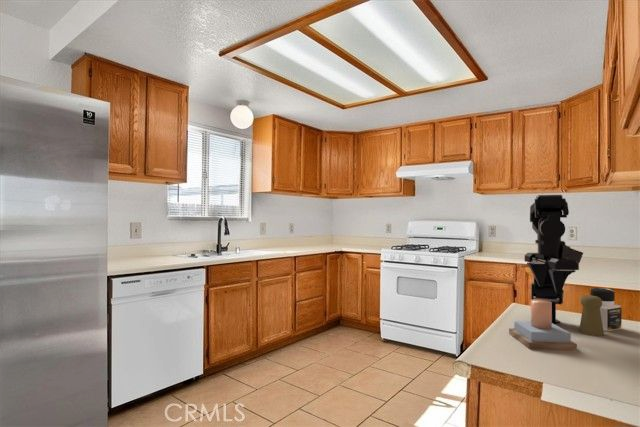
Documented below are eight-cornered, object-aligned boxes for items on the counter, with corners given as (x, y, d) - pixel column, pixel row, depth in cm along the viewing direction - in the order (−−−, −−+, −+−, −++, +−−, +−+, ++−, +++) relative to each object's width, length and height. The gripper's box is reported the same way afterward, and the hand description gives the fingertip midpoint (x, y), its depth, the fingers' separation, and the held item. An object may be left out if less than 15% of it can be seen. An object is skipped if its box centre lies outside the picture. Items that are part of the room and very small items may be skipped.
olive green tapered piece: (608, 336, 107) (608, 298, 107) (585, 335, 108) (585, 297, 108) (597, 330, 113) (597, 294, 113) (575, 329, 114) (575, 293, 114)
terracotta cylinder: (527, 323, 106) (527, 299, 106) (545, 323, 106) (544, 299, 106) (537, 329, 101) (537, 303, 101) (556, 329, 101) (555, 303, 101)
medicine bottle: (608, 331, 111) (608, 292, 111) (583, 325, 118) (583, 287, 118) (622, 328, 114) (622, 290, 114) (596, 322, 121) (597, 285, 121)
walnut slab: (509, 336, 109) (509, 328, 109) (551, 338, 109) (551, 329, 109) (529, 352, 98) (529, 342, 98) (576, 353, 97) (576, 343, 97)
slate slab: (514, 329, 108) (514, 321, 108) (549, 330, 108) (549, 322, 108) (531, 341, 98) (531, 332, 98) (570, 342, 98) (570, 333, 98)
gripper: (599, 239, 100) (599, 297, 100) (559, 235, 118) (559, 284, 118) (556, 239, 101) (556, 296, 101) (523, 235, 119) (523, 283, 119)
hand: (549, 289), depth 110 cm, fingers open, 9 cm apart
